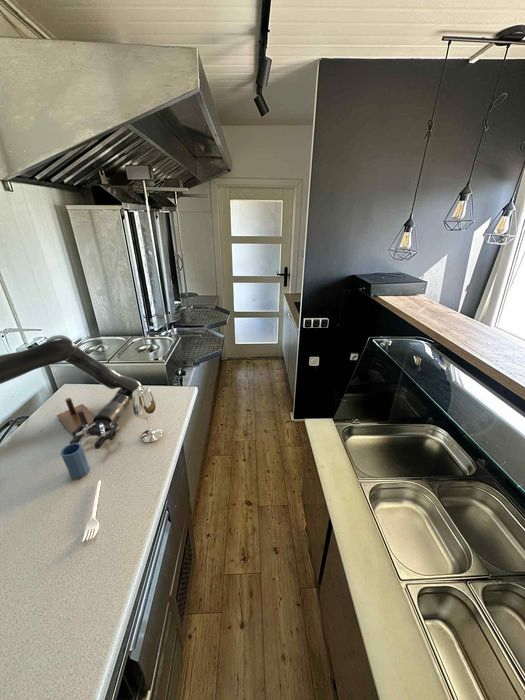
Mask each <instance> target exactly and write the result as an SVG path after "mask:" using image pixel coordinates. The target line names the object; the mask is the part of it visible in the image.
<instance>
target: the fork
mask: <svg viewBox="0 0 525 700" xmlns="http://www.w3.org/2000/svg"><path fill="white" fill-rule="evenodd" d="M101 483H102V480H98V481H97V484H96V490H95V495H94V502H93V506H92V510H91V515H90V519H89V521H88V522H87V524H86V526H85V529H84V533H83V538H82V543H83V542H85V541H88V540H91V539H94V538H95V537H96V535H97V534H98V531H99V529H100V523H99V521H98V520H97V519H96V515H97V509H98V503H99V496H100V489H101Z"/></svg>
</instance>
